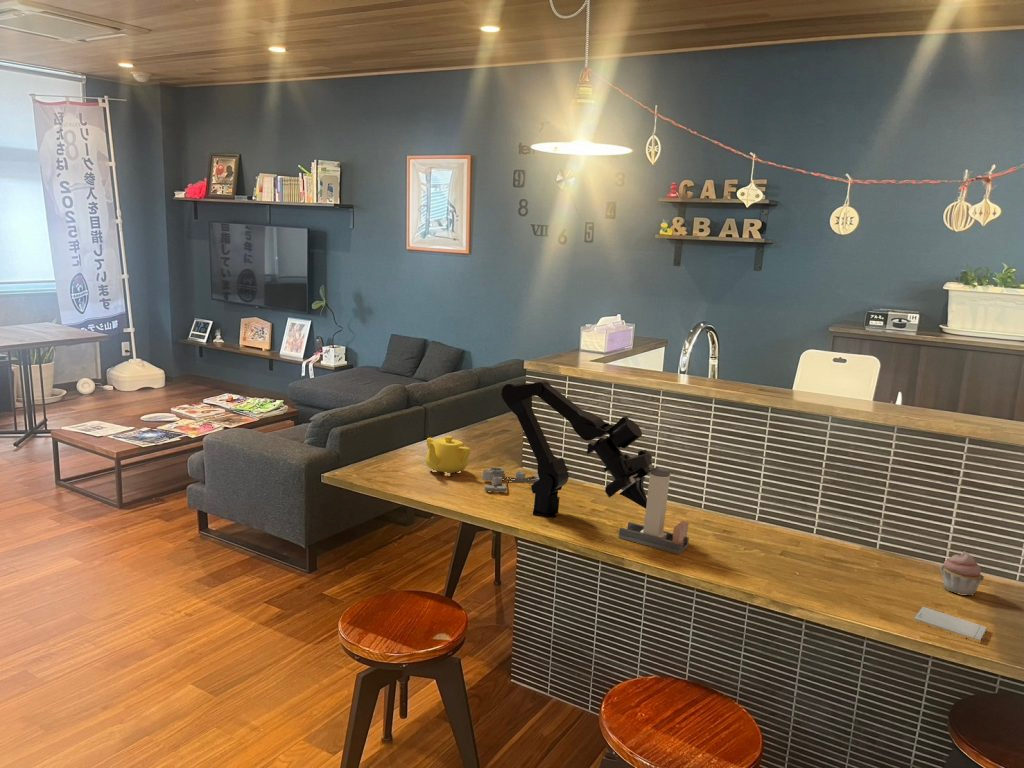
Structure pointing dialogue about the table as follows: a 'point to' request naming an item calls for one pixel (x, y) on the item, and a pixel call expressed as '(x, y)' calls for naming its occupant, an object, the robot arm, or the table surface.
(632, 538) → the rail
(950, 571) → the cupcake
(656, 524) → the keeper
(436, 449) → the teapot
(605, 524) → the table surface
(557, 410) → the robot arm
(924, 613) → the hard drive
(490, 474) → the pulley system
